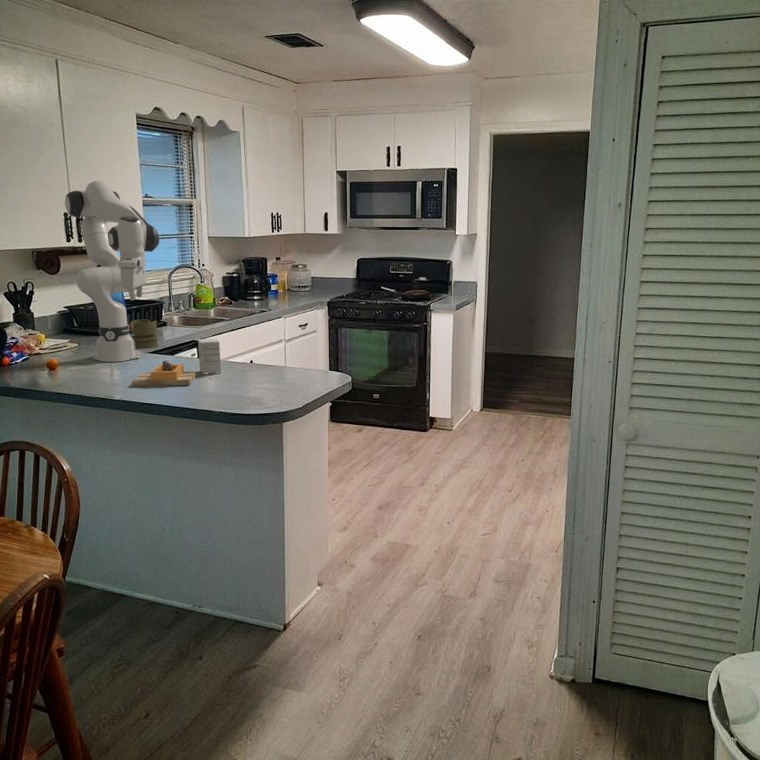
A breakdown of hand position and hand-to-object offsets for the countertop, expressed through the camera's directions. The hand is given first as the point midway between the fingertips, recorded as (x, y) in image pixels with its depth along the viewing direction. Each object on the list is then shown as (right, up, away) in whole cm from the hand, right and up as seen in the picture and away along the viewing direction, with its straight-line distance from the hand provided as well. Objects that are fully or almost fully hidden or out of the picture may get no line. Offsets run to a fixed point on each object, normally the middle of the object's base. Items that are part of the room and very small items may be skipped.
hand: (136, 298), depth 268 cm
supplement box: (+26, -28, +9) cm, 39 cm away
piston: (-17, -15, +63) cm, 67 cm away
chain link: (+14, -29, -7) cm, 33 cm away
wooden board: (+13, -31, -7) cm, 35 cm away
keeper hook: (+14, -30, -8) cm, 34 cm away
